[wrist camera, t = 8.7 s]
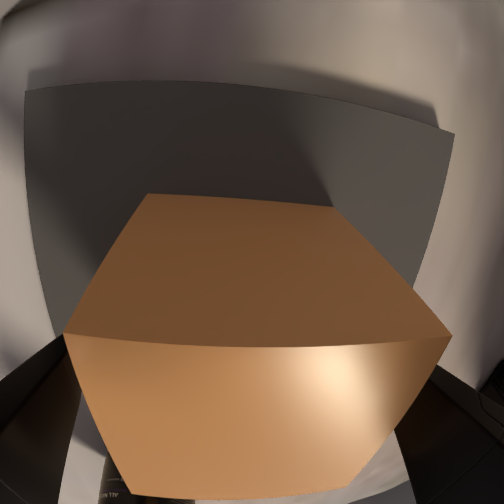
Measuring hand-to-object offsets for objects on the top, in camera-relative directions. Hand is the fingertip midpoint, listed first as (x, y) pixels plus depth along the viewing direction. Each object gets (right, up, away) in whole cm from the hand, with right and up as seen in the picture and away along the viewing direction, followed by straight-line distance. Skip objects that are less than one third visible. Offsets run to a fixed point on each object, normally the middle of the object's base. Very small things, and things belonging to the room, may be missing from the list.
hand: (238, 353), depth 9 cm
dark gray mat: (0, +2, +4) cm, 5 cm away
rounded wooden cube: (0, +2, +3) cm, 4 cm away
